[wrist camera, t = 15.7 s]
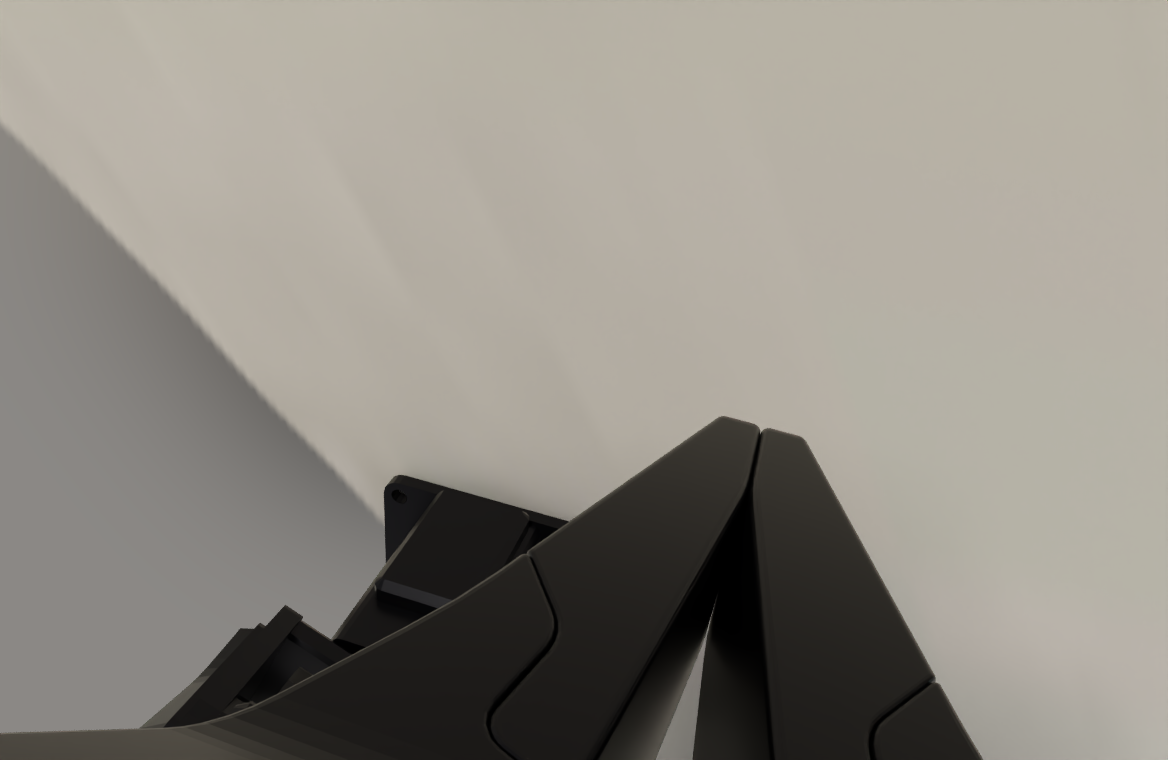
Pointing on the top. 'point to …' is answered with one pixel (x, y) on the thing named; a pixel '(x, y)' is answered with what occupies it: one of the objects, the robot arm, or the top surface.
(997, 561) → the top surface
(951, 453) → the top surface
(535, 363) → the top surface
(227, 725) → the robot arm
